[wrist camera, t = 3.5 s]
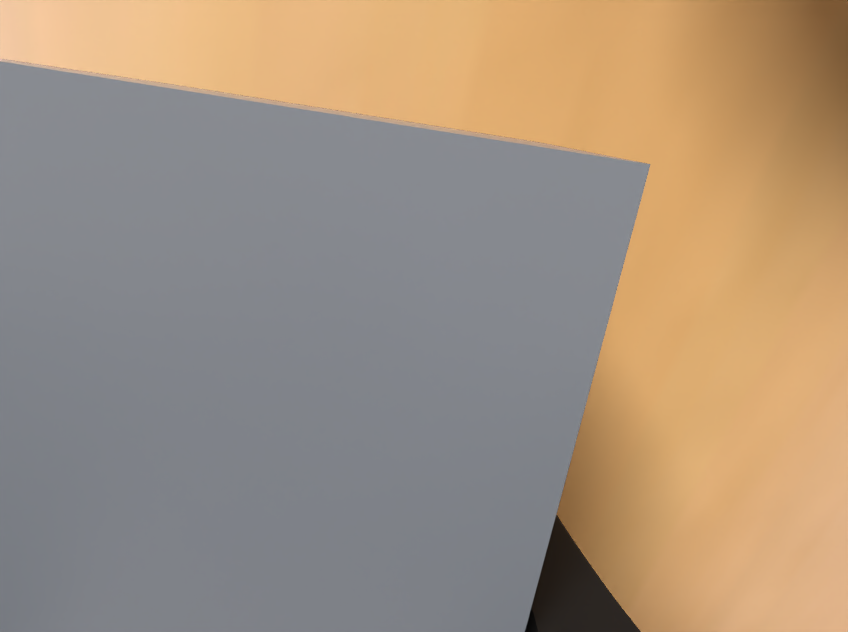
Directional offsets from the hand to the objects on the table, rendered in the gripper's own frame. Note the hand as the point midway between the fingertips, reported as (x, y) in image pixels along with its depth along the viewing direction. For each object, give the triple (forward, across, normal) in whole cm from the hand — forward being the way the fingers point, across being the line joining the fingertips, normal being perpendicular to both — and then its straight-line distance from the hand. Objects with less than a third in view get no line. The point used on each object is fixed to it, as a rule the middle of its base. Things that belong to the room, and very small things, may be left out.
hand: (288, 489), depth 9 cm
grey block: (+2, 0, 0) cm, 2 cm away
